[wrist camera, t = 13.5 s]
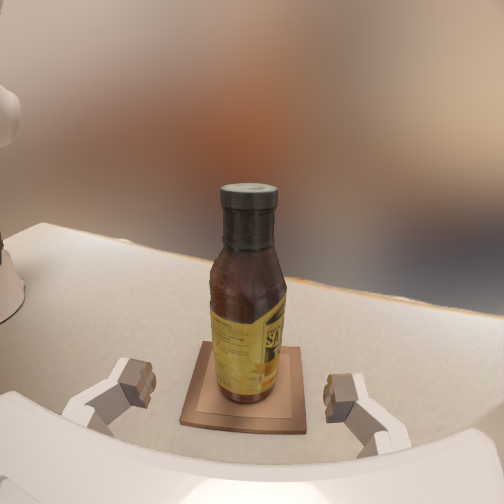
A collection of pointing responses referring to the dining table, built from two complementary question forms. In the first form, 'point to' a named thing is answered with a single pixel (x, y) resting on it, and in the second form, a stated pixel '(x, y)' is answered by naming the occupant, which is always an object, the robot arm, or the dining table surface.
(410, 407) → the dining table surface
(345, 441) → the dining table surface
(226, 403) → the trivet
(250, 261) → the sauce bottle
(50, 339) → the dining table surface
